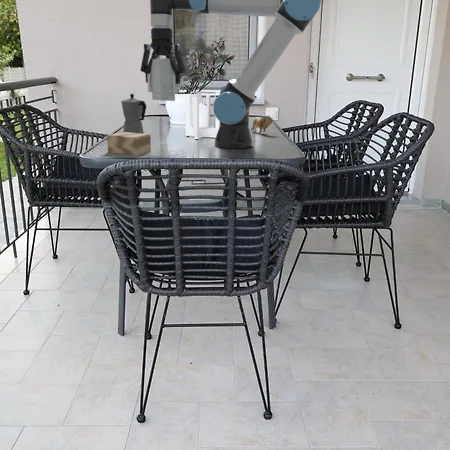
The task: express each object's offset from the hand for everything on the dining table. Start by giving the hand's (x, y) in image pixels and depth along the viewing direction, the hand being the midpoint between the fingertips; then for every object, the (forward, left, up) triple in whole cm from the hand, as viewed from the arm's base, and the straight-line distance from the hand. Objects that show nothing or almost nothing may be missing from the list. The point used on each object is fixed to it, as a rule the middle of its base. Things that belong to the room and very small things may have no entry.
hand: (163, 92), depth 178 cm
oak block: (+7, +13, -21) cm, 26 cm away
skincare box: (0, 0, -3) cm, 3 cm away
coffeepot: (+24, -19, -21) cm, 37 cm away
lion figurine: (-22, -57, -21) cm, 65 cm away
